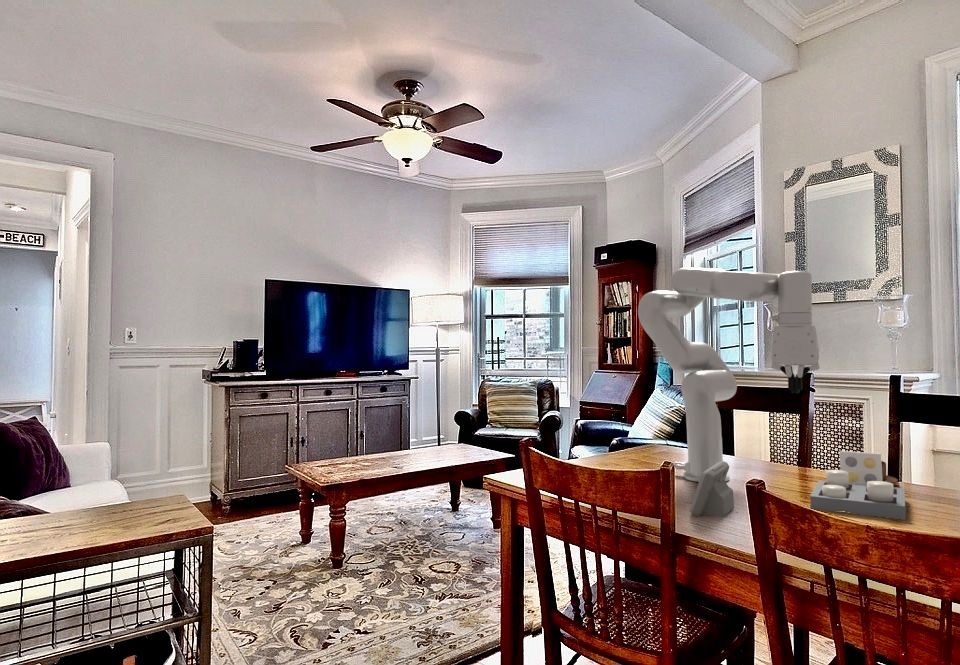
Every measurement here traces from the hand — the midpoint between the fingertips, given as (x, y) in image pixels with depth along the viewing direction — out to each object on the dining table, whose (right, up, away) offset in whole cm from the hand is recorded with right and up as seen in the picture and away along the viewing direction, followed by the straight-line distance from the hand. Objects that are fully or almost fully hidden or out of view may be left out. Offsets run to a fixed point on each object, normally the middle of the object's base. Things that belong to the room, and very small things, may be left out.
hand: (795, 392), depth 145 cm
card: (+19, -26, +3) cm, 32 cm away
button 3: (+11, -23, -14) cm, 29 cm away
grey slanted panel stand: (-25, -28, -8) cm, 38 cm away
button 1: (+4, -25, -9) cm, 27 cm away
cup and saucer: (+26, -26, +10) cm, 39 cm away
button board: (+11, -26, -8) cm, 29 cm away
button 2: (+10, -23, -2) cm, 25 cm away
